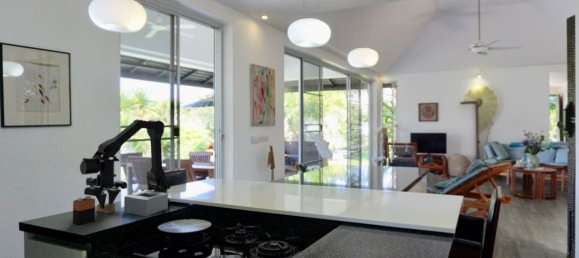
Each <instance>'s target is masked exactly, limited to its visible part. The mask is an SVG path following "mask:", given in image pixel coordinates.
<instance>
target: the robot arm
mask: <svg viewBox="0 0 579 258" xmlns="http://www.w3.org/2000/svg"><path fill="white" fill-rule="evenodd" d="M141 129H146V133H147V135H148V137H149V139H150V158H151V159H150V160H151V161H150V162H151V169H150V170H149V171H147V173H146V174H147V179H146V180H148V183H149V184H150V185H151V188H154V189H153V191H154V192H161V193H168V190H170V189H171V186H172V184H171V183H170V182H169V181H168V180H167V175H166V172H165V170H164V168H163V153H162V152H163V151H162V137H163V135H164V133H165V123H164V122H163V121H161V120H158V119H157V120H156V119H150V120H143V119H137V118H136V119H135V120H133V121H132V122H131V123H130V124H129V125H128V126H127V127H125V128H124V129H123V130H121V131H120V132H119V133H118V134H116V135H115V136H114V137H112V138H110V139H107V140H105V141H103V142H102V143H100V144H99V145H98V147H97V150H96V151H95V153H94V154H93V156H92V157H89V158H88V157H83V158H82V161H80V165H79V171H80V173H81V175H83V176H84V175H92V174H96V177H95V178H93V177H92V176H90V177H87V178H86V179H85V185H86V186H88V187H85V188H84V189H83V191H84V192H83V195H85V196H91V197H96V199H97V202H98V204H100V207H101V209H103V208H104V205H105V203H106V202H107V201H106V200H107V197H108V203H111V204H114V202H115V201H116V198H117V197H118V195H119V194H120V192H121V191H122V190H124V189H127V188H128V183H127V181H123V180H115V177H117V174H116V173H115V162H119V161H120V159H119V158H118V157H117V156H116V155H117V153H119V151H120V150H121V148H122V146H123V144H125V143H126V142H128V141H129V140H130V139H131V138H132V137H133V136H135V135H136V134H137V133H138V132H139V131H141ZM98 173H99V174H98ZM119 188H120V189H119ZM121 189H122V190H121ZM105 191H106V192H107V193H105ZM107 195H108V196H107Z"/></svg>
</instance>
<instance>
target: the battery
mask: <svg viewBox="0 0 579 258" xmlns="http://www.w3.org/2000/svg"><path fill="white" fill-rule="evenodd" d="M95 212H96V199H95V198H92V196H91V195H85V196H84V198H83V197H78V198H77V199H75V200H73V201H72V224H74V223H75V224H74V225H78V224H82V225H85V224H84V223H86V224H89V223H93V222H95V221H96V220H95V219H96V218H95V217H96V213H95ZM92 221H93V222H92ZM88 222H89V223H88Z"/></svg>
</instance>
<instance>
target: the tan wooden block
mask: <svg viewBox="0 0 579 258" xmlns="http://www.w3.org/2000/svg"><path fill="white" fill-rule="evenodd" d="M96 209H97V210H96V211H97V212H100V213H106V214H109V213H113V212H115V211H116V204H115V203H113V204H111V203H109V202H105V205H104V208H103V209H101V207H100V204H99V203H97V205H96Z"/></svg>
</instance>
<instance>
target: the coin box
mask: <svg viewBox="0 0 579 258" xmlns="http://www.w3.org/2000/svg"><path fill="white" fill-rule="evenodd" d="M168 199H169V193H168V192H167V193H161V192H154V190H148V189H147V190H143V191H140V192H135V193H132V194H130V195H128V194H127V195H125V196H124V199H123V200H124V201H123V207H124V208H123V212H124V213H126V214H132V215H138V216H142V217H148V216H150V215H154V214H156V213H159V212H161V211H165V210H167V209H168V208H169V207H168V204H169V203H168V202H169V200H168Z"/></svg>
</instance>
